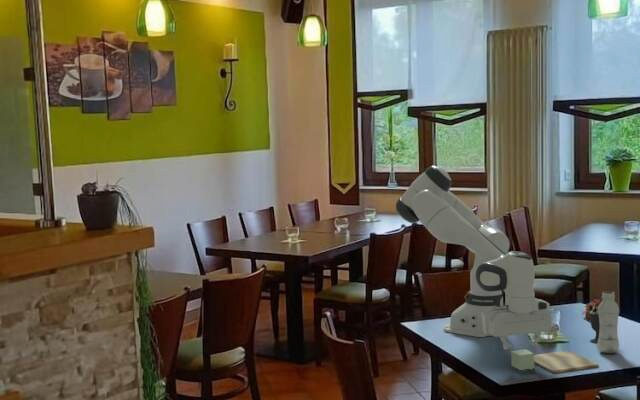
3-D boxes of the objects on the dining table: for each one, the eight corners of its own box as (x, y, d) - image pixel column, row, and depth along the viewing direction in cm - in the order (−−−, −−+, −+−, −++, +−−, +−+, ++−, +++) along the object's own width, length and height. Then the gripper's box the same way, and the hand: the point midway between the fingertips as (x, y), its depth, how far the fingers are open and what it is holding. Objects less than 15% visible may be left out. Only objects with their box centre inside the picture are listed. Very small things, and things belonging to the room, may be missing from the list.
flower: (613, 312, 298) (601, 295, 300) (612, 313, 290) (599, 295, 292) (591, 325, 301) (579, 308, 303) (589, 327, 292) (577, 308, 295)
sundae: (609, 344, 263) (609, 301, 262) (588, 344, 265) (588, 300, 263) (606, 339, 270) (606, 296, 268) (586, 338, 271) (586, 296, 270)
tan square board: (553, 373, 236) (553, 370, 236) (525, 358, 251) (525, 356, 251) (598, 366, 240) (598, 364, 240) (568, 352, 256) (568, 350, 256)
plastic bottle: (597, 349, 259) (597, 290, 257) (619, 350, 256) (619, 291, 254) (596, 354, 253) (596, 294, 251) (619, 356, 250) (619, 295, 248)
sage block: (519, 371, 240) (519, 355, 239) (511, 366, 244) (511, 350, 244) (534, 369, 241) (534, 353, 240) (525, 364, 246) (525, 349, 245)
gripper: (494, 309, 235) (494, 353, 236) (554, 303, 240) (554, 346, 241) (484, 304, 241) (485, 348, 242) (543, 299, 246) (543, 341, 247)
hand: (520, 347), depth 242 cm, fingers open, 8 cm apart
